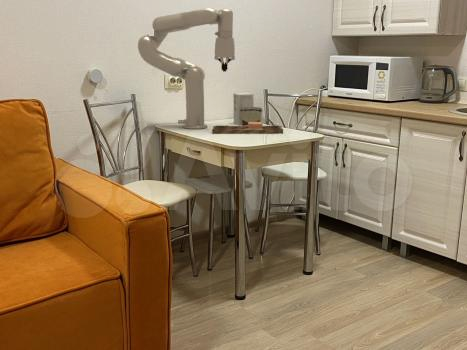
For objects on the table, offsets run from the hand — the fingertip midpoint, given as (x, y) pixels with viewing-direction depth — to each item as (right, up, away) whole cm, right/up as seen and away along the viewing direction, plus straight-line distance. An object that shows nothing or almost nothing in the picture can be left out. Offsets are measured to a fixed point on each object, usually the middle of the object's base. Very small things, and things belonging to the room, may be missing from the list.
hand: (224, 71), depth 268 cm
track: (+12, -32, -6) cm, 35 cm away
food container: (+14, -27, +13) cm, 33 cm away
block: (+16, -32, -5) cm, 36 cm away
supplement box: (+10, -25, +22) cm, 35 cm away
